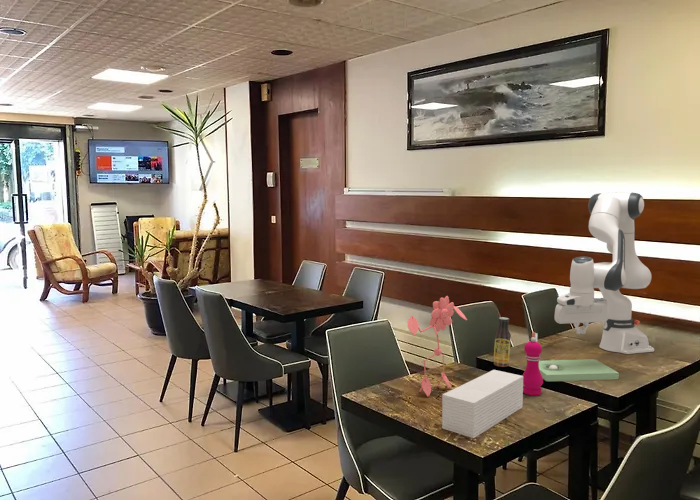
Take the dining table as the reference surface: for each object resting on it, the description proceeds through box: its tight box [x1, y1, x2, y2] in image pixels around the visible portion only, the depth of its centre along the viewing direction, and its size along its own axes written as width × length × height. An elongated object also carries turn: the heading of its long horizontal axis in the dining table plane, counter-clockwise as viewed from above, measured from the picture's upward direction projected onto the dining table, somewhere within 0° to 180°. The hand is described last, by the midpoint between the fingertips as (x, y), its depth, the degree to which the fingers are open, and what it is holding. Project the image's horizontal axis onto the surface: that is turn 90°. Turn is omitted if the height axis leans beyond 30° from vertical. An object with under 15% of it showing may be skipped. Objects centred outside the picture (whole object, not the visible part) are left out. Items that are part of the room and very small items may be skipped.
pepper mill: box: [522, 336, 544, 396], centre depth 198 cm, size 7×7×20 cm
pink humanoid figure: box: [406, 295, 468, 398], centre depth 196 cm, size 15×26×35 cm, turn 128°
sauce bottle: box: [493, 316, 512, 368], centre depth 230 cm, size 6×6×20 cm
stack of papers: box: [441, 369, 524, 439], centre depth 177 cm, size 32×11×11 cm, turn 138°
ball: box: [549, 365, 558, 369], centre depth 220 cm, size 4×4×4 cm
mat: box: [531, 331, 620, 382], centre depth 221 cm, size 28×20×14 cm
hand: (580, 333), depth 220 cm, fingers closed
